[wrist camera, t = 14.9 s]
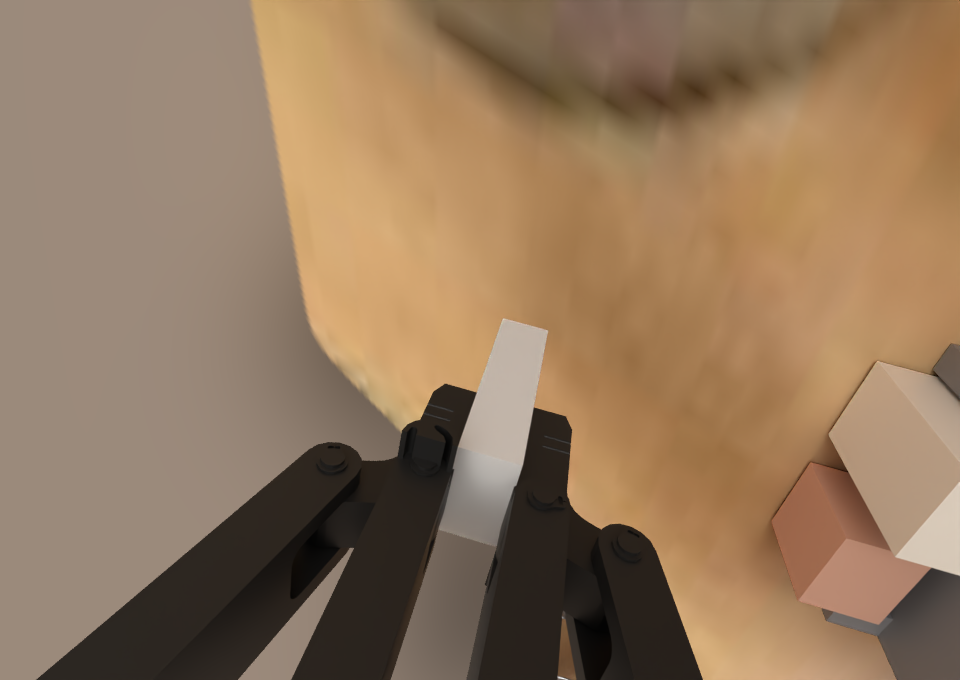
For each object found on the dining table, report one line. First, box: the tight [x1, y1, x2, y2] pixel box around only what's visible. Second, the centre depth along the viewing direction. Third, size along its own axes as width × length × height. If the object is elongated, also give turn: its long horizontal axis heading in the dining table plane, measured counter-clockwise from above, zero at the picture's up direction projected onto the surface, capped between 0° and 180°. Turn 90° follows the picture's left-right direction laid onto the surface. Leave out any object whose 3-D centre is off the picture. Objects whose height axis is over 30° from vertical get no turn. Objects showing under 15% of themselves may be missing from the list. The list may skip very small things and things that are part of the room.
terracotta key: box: [771, 462, 931, 625], centre depth 44 cm, size 7×6×8 cm
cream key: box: [828, 361, 960, 576], centre depth 38 cm, size 7×6×12 cm
